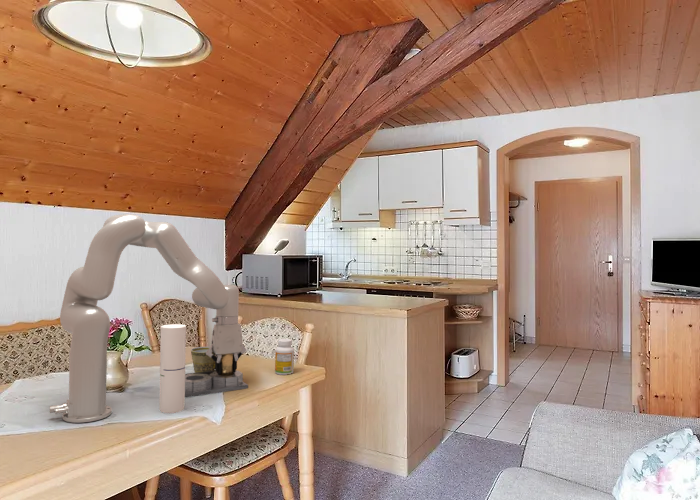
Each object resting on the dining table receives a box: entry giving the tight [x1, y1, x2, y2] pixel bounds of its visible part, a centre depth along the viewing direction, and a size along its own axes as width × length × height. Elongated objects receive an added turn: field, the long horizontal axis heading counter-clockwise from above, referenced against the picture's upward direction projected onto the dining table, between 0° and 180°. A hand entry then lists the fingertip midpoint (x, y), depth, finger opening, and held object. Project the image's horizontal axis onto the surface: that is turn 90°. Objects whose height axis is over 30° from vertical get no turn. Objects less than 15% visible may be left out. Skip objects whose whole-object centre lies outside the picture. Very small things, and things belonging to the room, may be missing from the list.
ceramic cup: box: [190, 346, 215, 373], centre depth 190 cm, size 13×10×10 cm
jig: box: [185, 369, 249, 398], centre depth 175 cm, size 22×13×4 cm, turn 124°
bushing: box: [219, 354, 233, 376], centre depth 178 cm, size 5×5×10 cm
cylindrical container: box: [158, 323, 187, 414], centre depth 152 cm, size 7×7×25 cm
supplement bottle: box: [274, 338, 295, 376], centre depth 197 cm, size 7×7×13 cm
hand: (226, 372), depth 178 cm, fingers closed on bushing, 4 cm apart
